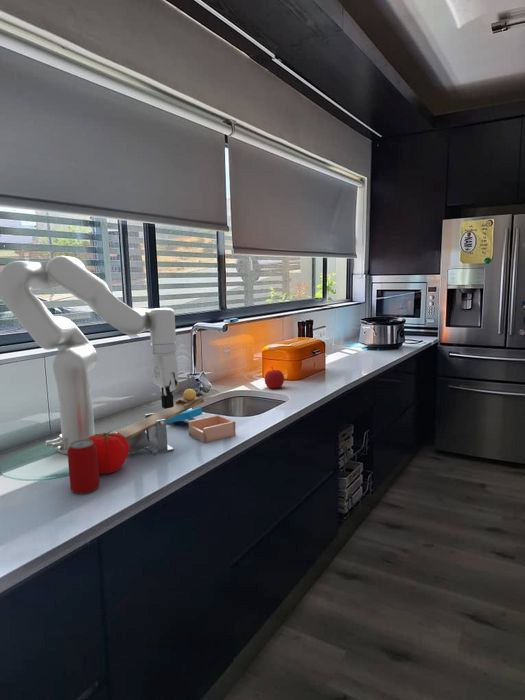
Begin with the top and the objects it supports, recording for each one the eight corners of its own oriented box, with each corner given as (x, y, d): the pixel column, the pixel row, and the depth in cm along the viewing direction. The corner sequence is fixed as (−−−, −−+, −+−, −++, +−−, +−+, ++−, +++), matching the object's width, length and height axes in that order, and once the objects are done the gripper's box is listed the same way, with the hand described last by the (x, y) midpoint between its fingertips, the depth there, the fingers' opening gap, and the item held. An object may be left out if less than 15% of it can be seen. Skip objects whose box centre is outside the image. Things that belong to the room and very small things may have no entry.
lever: (131, 454, 137) (124, 433, 135) (123, 448, 143) (116, 428, 141) (208, 415, 151) (202, 396, 149) (197, 411, 156) (192, 392, 154)
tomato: (99, 484, 120) (96, 444, 119) (71, 473, 127) (67, 435, 126) (140, 466, 131) (138, 429, 129) (112, 457, 138) (109, 422, 136)
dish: (204, 442, 149) (204, 428, 148) (189, 434, 158) (188, 421, 157) (235, 434, 156) (235, 421, 155) (219, 427, 164) (218, 414, 164)
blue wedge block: (165, 436, 170) (200, 430, 160) (160, 417, 170) (195, 410, 160) (178, 431, 176) (213, 425, 166) (173, 413, 176) (208, 405, 166)
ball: (187, 403, 148) (186, 390, 147) (181, 400, 151) (181, 388, 150) (198, 401, 150) (198, 389, 149) (192, 399, 153) (192, 387, 153)
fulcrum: (155, 455, 139) (153, 422, 138) (141, 444, 148) (139, 414, 147) (173, 450, 143) (172, 419, 141) (158, 440, 152) (157, 411, 150)
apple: (273, 391, 215) (272, 369, 214) (260, 387, 222) (260, 367, 221) (288, 387, 221) (287, 366, 220) (275, 384, 228) (275, 364, 227)
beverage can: (103, 483, 121) (99, 438, 119) (94, 495, 114) (91, 447, 112) (76, 484, 120) (72, 438, 119) (66, 496, 114) (62, 448, 112)
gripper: (142, 347, 147) (147, 404, 150) (162, 352, 135) (166, 414, 138) (165, 345, 151) (168, 400, 154) (186, 349, 139) (189, 410, 142)
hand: (167, 407), depth 146 cm, fingers closed
